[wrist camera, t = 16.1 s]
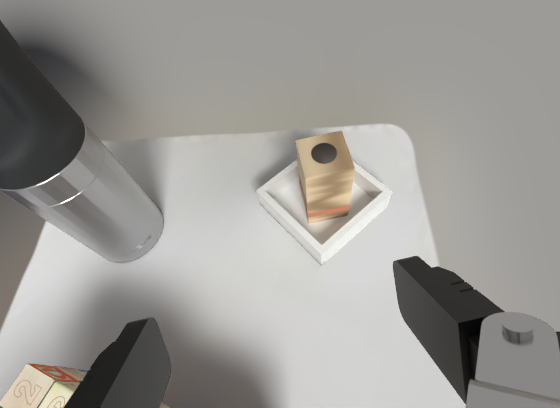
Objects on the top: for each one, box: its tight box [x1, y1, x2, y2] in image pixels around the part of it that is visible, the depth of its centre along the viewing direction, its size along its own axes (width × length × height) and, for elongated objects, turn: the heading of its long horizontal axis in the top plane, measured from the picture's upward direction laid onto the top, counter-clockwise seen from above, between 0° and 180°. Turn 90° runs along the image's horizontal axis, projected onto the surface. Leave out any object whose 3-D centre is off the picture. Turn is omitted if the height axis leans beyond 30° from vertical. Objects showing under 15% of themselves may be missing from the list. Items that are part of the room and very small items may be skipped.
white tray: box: [256, 160, 393, 266], centre depth 42 cm, size 12×12×4 cm
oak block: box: [295, 131, 355, 223], centre depth 39 cm, size 5×5×10 cm
